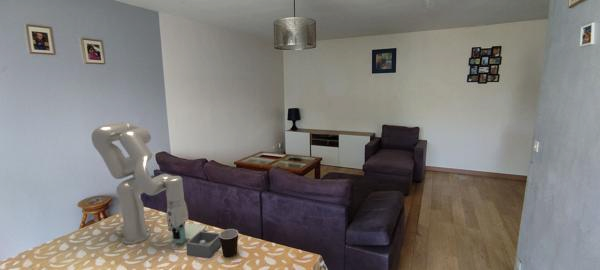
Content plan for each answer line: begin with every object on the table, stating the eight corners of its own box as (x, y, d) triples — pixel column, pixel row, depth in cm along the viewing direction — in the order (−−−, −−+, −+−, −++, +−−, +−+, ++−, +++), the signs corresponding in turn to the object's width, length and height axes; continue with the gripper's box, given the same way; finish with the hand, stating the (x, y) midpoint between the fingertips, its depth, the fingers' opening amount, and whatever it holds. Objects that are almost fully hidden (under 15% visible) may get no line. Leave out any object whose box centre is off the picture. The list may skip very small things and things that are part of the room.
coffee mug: (234, 260, 124) (233, 239, 123) (217, 258, 126) (215, 237, 124) (244, 245, 136) (243, 226, 134) (228, 243, 137) (227, 225, 136)
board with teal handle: (187, 225, 152) (186, 213, 151) (206, 228, 150) (205, 215, 148) (167, 241, 137) (165, 228, 136) (188, 244, 134) (187, 231, 133)
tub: (187, 254, 129) (185, 243, 128) (200, 241, 139) (199, 230, 138) (210, 258, 126) (209, 246, 125) (222, 244, 136) (221, 233, 135)
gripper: (170, 209, 125) (174, 247, 128) (192, 195, 140) (195, 229, 144) (156, 208, 127) (160, 245, 130) (180, 194, 142) (183, 227, 145)
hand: (179, 236), depth 137 cm, fingers closed on board with teal handle, 2 cm apart
